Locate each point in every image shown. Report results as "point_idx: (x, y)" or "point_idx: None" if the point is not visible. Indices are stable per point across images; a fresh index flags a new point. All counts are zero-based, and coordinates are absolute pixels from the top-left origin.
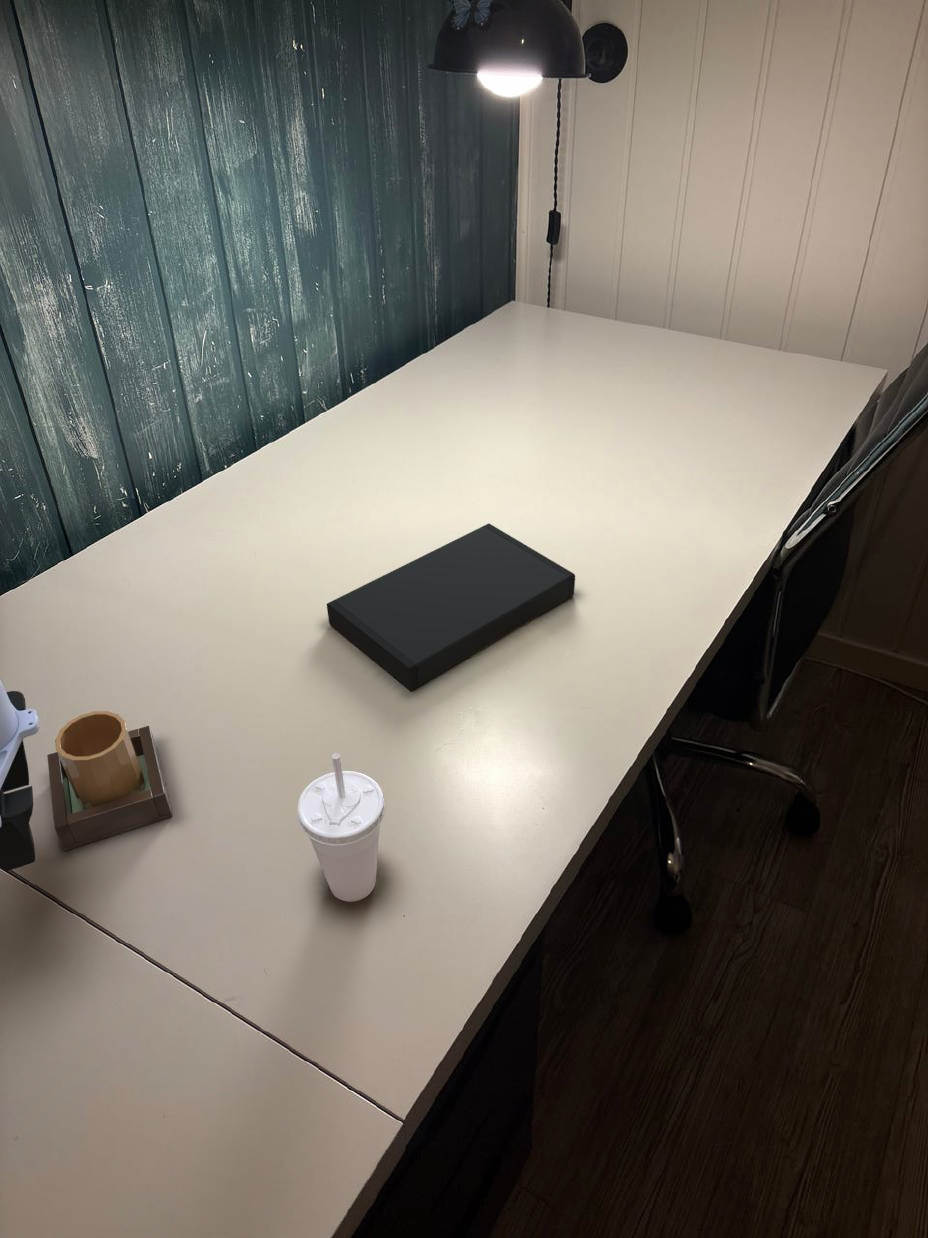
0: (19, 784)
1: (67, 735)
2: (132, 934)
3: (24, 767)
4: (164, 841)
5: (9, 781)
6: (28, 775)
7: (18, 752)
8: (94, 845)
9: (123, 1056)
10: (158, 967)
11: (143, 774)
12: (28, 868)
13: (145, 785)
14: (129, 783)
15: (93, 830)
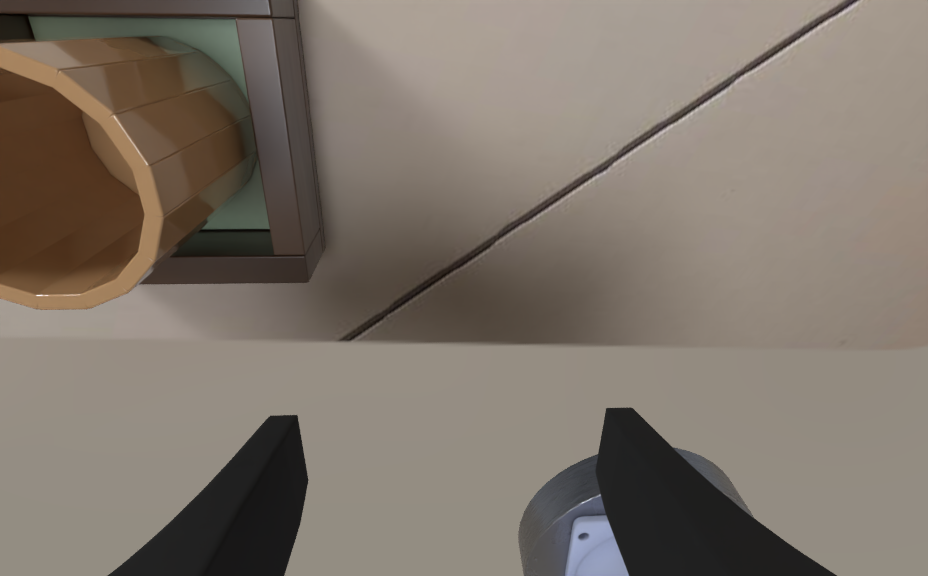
0: (298, 446)
1: (3, 264)
2: (603, 140)
3: (270, 469)
4: (374, 22)
5: (294, 483)
6: (284, 437)
7: (236, 536)
8: (328, 189)
9: (838, 190)
10: (710, 99)
11: (127, 35)
12: (346, 313)
13: (167, 37)
14: (197, 81)
15: (309, 191)
